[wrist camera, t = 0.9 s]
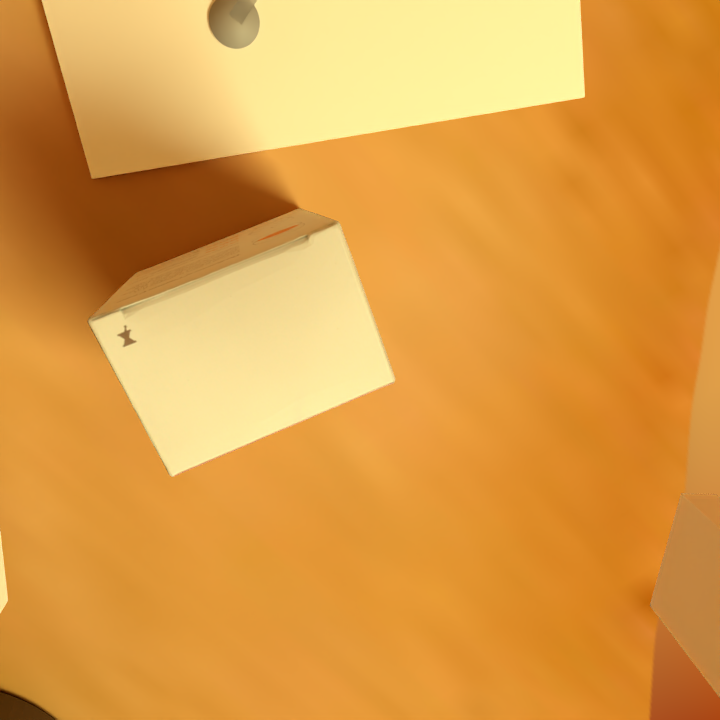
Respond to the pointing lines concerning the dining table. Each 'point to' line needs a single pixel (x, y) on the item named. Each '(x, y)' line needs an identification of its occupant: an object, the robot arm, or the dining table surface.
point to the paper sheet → (298, 70)
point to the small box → (243, 338)
